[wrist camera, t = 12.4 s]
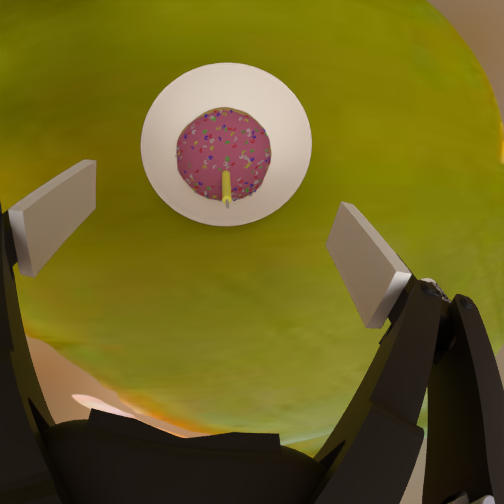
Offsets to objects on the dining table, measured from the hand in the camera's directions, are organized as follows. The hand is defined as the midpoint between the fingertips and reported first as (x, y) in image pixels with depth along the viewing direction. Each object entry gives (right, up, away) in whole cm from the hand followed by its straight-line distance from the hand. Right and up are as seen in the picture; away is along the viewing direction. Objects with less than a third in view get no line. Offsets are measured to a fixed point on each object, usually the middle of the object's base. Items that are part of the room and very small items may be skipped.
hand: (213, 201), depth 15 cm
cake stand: (-1, +12, +22) cm, 25 cm away
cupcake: (-1, +8, +15) cm, 17 cm away
